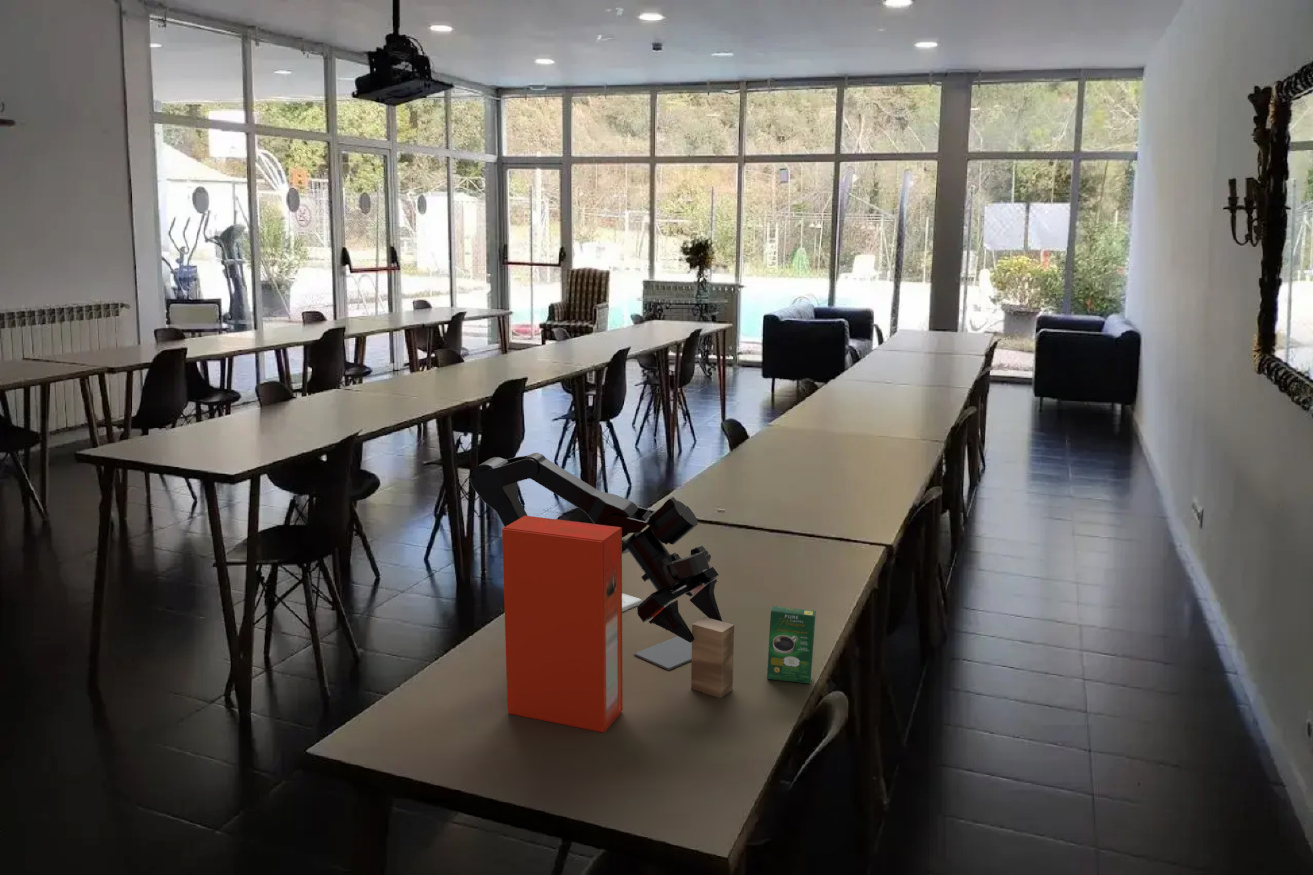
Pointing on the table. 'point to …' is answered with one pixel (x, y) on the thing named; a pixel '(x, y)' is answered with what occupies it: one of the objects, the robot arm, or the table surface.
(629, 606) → the external hard drive
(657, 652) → the mat
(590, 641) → the file binder
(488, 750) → the table surface
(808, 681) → the coffee box
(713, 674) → the tall wooden block tower
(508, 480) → the robot arm
